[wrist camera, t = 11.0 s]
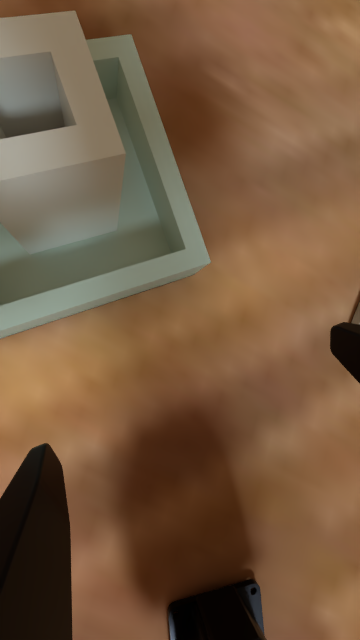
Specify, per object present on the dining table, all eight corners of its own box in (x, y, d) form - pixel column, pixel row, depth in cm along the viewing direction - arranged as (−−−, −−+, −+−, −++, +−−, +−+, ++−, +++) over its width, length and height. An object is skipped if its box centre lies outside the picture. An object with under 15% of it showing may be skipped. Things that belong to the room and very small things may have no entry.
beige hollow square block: (117, 230, 21) (125, 153, 12) (29, 254, 19) (-32, 187, 11) (87, 149, 21) (75, 10, 12) (-3, 167, 19) (-91, 27, 11)
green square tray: (192, 275, 23) (210, 262, 19) (-14, 343, 19) (-44, 344, 15) (126, 87, 22) (131, 34, 18) (-96, 123, 19) (-148, 69, 15)
